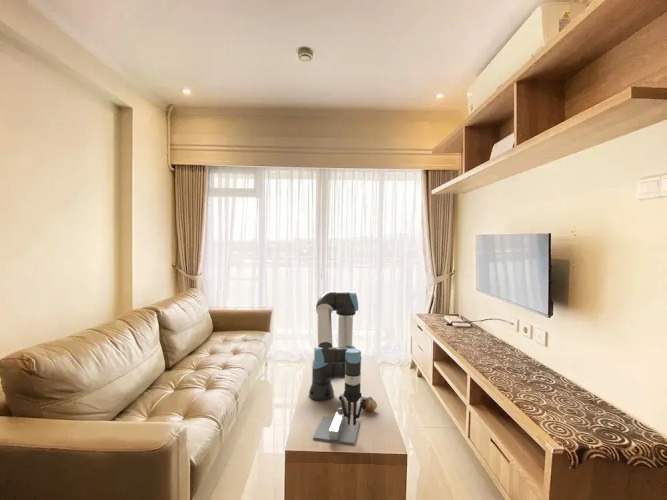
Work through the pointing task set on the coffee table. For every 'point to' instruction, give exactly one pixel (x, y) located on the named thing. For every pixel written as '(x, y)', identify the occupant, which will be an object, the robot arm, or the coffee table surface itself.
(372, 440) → the coffee table surface
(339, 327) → the robot arm
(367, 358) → the coffee table surface
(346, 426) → the panel
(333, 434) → the swing bar
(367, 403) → the seashell
